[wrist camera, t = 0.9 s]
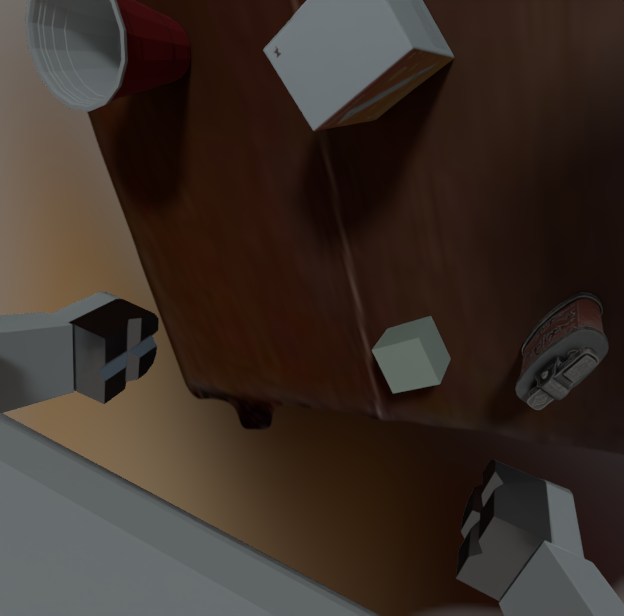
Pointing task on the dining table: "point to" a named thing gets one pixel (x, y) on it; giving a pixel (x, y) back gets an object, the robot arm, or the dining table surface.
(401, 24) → the small box
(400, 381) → the sage block
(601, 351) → the lighter
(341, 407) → the dining table surface
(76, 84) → the plastic cup
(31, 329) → the robot arm
